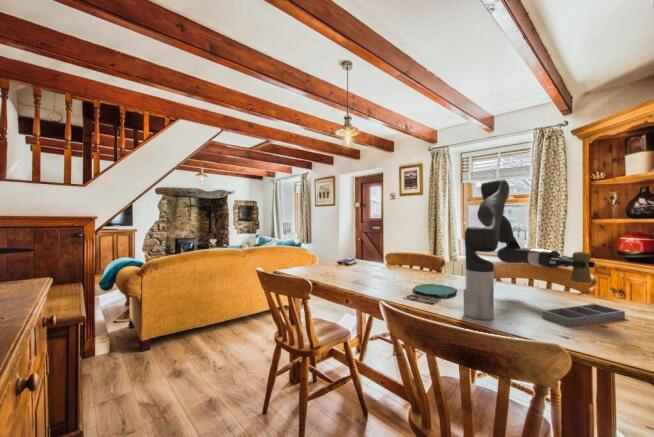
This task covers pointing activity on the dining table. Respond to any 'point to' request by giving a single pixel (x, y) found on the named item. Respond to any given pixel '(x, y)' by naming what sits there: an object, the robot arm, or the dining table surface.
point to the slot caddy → (583, 314)
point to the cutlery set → (431, 292)
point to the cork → (581, 273)
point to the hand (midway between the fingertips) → (589, 265)
